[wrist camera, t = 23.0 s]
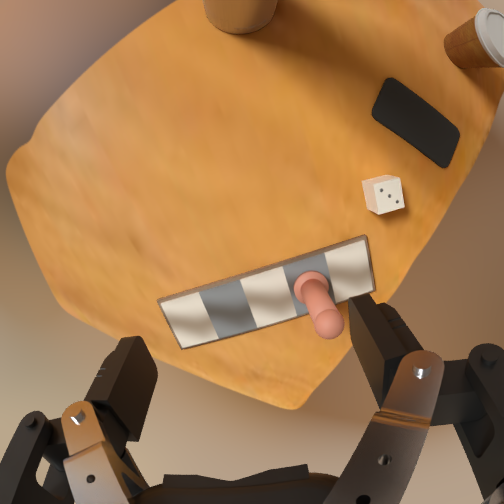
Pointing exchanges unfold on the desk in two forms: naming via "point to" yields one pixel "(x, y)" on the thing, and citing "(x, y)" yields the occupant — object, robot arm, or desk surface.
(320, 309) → the pawn
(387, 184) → the die
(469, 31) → the disposable coffee cup
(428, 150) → the phone
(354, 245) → the board
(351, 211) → the desk surface
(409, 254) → the desk surface
